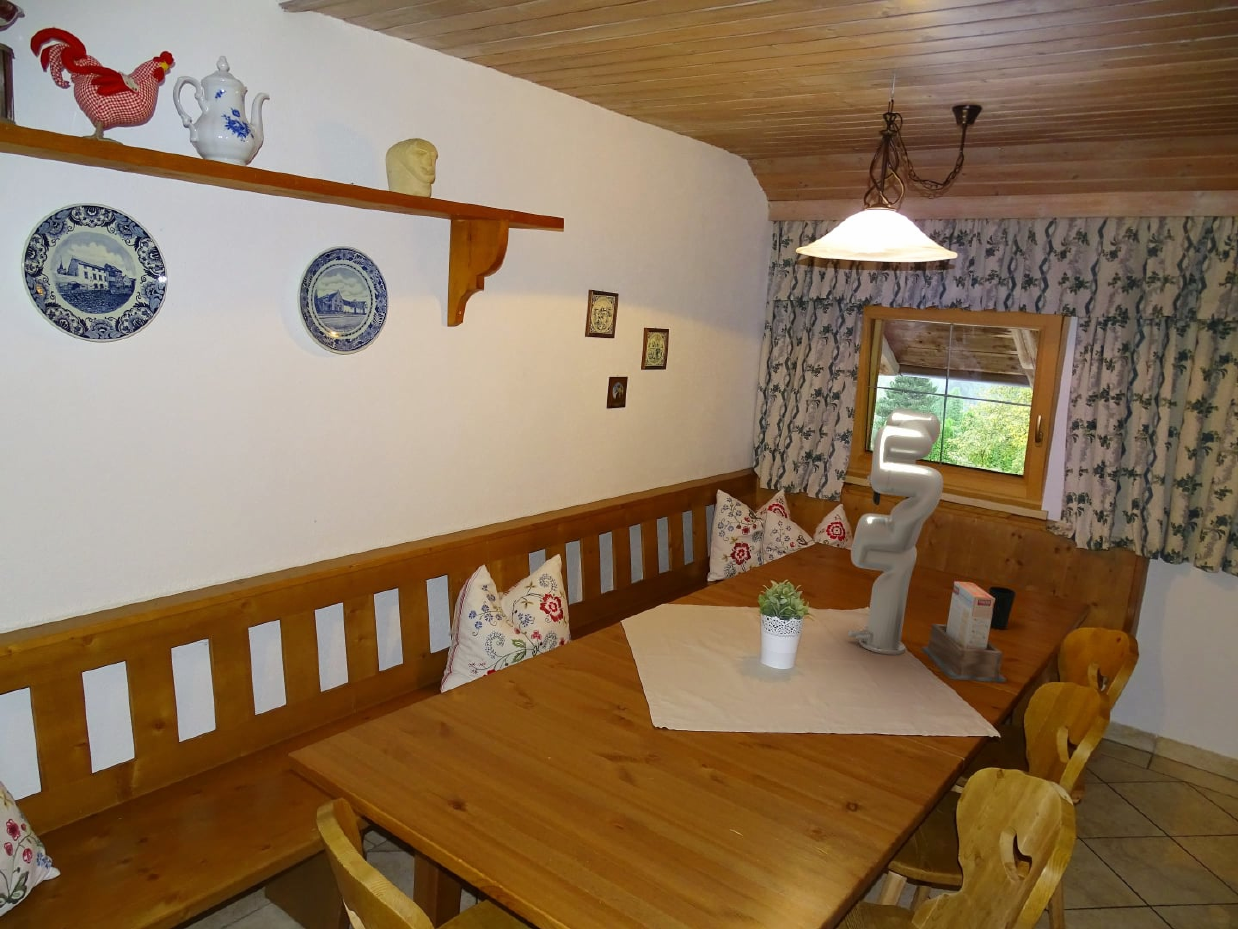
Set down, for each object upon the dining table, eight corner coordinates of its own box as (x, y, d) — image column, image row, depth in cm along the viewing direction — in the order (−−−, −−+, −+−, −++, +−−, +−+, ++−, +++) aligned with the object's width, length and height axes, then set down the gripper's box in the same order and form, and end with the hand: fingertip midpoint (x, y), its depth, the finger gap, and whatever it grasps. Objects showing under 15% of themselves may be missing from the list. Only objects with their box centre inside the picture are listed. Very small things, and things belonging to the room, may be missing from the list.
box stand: (949, 678, 232) (954, 649, 230) (921, 649, 251) (925, 622, 250) (1005, 682, 232) (1010, 654, 231) (972, 653, 252) (977, 626, 251)
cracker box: (983, 673, 235) (996, 598, 231) (961, 671, 235) (973, 596, 231) (963, 653, 249) (974, 581, 245) (942, 651, 249) (953, 580, 245)
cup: (1005, 633, 272) (1012, 596, 270) (980, 626, 277) (986, 589, 275) (1012, 627, 278) (1018, 591, 276) (987, 620, 283) (993, 584, 281)
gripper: (875, 449, 261) (867, 506, 264) (932, 454, 262) (924, 510, 265) (867, 445, 269) (860, 500, 272) (923, 450, 270) (915, 505, 272)
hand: (891, 505), depth 268 cm, fingers open, 9 cm apart
